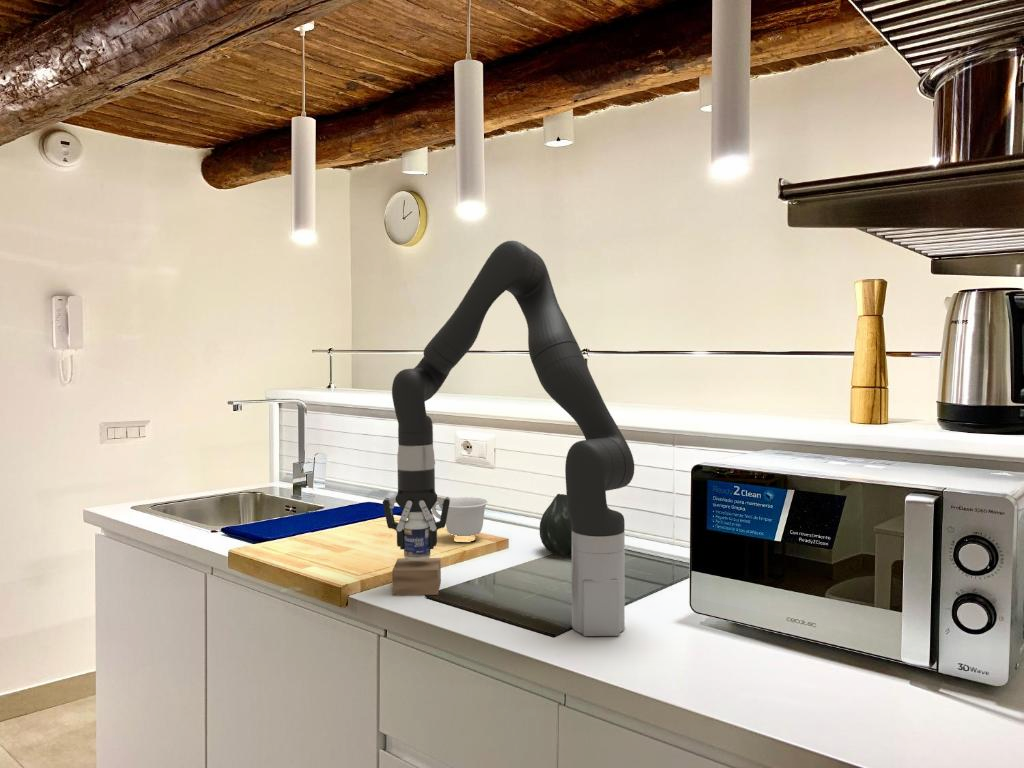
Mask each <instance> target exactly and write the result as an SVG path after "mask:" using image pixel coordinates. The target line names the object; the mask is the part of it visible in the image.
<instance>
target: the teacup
mask: <svg viewBox="0 0 1024 768" xmlns="http://www.w3.org/2000/svg"><path fill="white" fill-rule="evenodd" d="M449 498H450V497H449ZM488 503H489V501H488V500H487V499H484V498H480V497H474V496H473V497H471V496H470V497H468V496H467V497H466V496H465V497H462V496H461V497H452V498H450V504H449V509H448V514H447V520H446V524H445V527H446V529H447V533H450V534H449V535H451V534H453V535H457V536H471V535H476V534H478V535H479V534H480V533H481V531H482V530H483V527H484V520H485V519H484V518H485V509H486V506H487V505H488ZM437 506H439V503H438V502H436V503H435V504H434V506H433V507H432V509H431V511H432V513H433V515H434V517H435V518H437V519H439V520H440V518H441V514H440V513H439V512H438V511H437ZM440 509H441V511H442V508H440ZM476 536H477V535H476Z"/></svg>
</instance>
